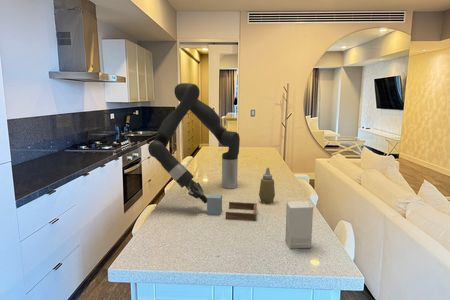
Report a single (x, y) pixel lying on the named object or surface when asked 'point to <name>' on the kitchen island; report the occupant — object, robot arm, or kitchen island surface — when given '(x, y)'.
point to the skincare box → (299, 224)
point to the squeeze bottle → (267, 188)
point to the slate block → (214, 204)
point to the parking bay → (242, 215)
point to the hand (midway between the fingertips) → (207, 201)
